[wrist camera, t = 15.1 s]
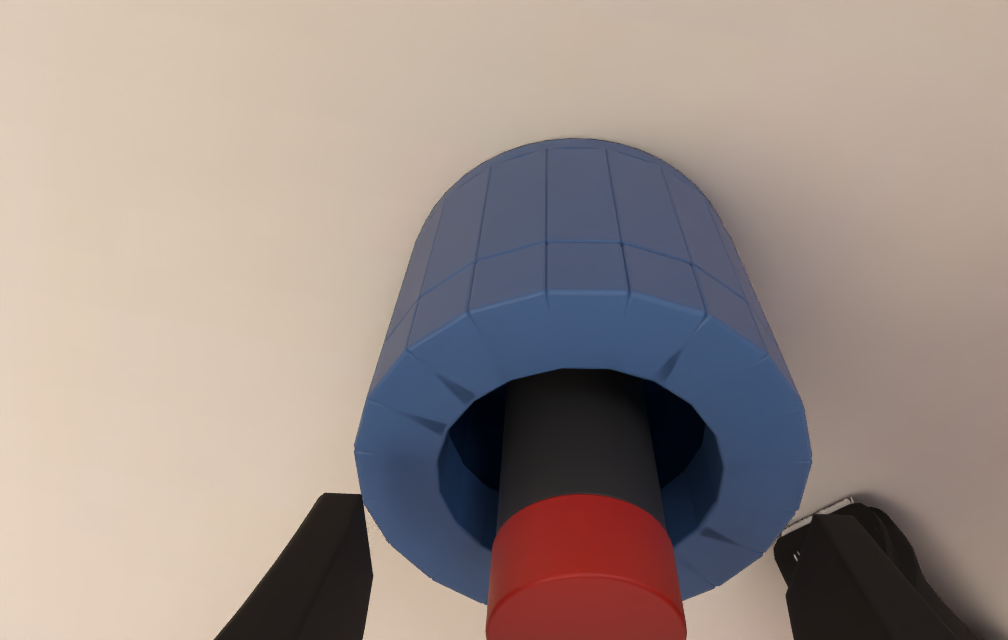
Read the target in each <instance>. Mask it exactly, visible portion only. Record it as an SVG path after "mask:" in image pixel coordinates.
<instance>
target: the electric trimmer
mask: <svg viewBox="0 0 1008 640" xmlns="http://www.w3.org/2000/svg"><path fill="white" fill-rule="evenodd" d="M841 501H842V500H841ZM851 501H852V503H851V502H850V501H849V500H848V499H847V498H846V500H845V499H844V502H843V501H842V503H841V502H840V501H839V504H840V505H839V504H838V503H837V505H836V504H835V507H834V506H833V505H832V506H833V508H832V507H831V506H830V508H828V509H827V508H826V507H825V508H826V511H825V510H824V509H823V511H824V512H823V511H822V510H821V512H820V511H819V514H834V515H853V516H854V517H855V518H856V520H857V521H858V522H859V523H860V524H861V525H862V527H863V528H864V529H865V530H866V531H867V532H868V534H869V535H870V536H871V537H872V538H873V540H874V541H875V542H876V543H877V545H878V546H879V547H880V548H881V549H882V551H883V552H884V553H885V554H886V555H887V557H888V558H889V559H890V560H891V561H892V563H893V564H894V565H895V566H896V567H897V569H898V570H899V571H900V572H901V573H902V575H903V576H904V577H905V578H906V579H907V580H908V582H909V583H910V584H911V585H912V586H913V588H914V589H915V590H916V591H917V592H918V593H919V595H920V596H921V597H922V598H923V599H924V600H925V602H926V603H927V604H928V605H929V606H930V607H931V609H932V610H933V611H934V612H935V613H936V614H937V615H938V616H939V618H940V619H941V620H942V621H943V622H944V623H945V624H946V625H947V627H948V628H949V629H950V630H951V631H952V632H953V633H954V634H955V636H956V637H957V638H958V639H959V640H977V639H976V637H975V636H974V635H973V634H972V633H971V632H970V631H969V630H968V629H967V628H966V627H965V625H964V624H963V623H962V622H961V621H960V620H959V619H958V618H957V617H956V616H955V615H954V614H953V612H952V611H951V610H950V609H949V608H948V607H947V606H946V605H945V604H944V602H943V601H942V600H941V599H940V597H939V596H938V595H937V594H936V593H935V591H934V590H933V589H932V588H931V586H930V585H929V584H928V583H927V581H926V580H925V578H924V576H923V574H922V572H921V569H920V566H919V564H918V561H917V558H916V556H915V553H914V550H913V548H912V546H911V544H910V543H909V541H908V540H907V538H906V537H905V535H904V534H903V533H902V532H901V531H900V529H899V528H898V527H897V526H896V525H895V523H894V522H893V521H892V520H891V519H890V518H889V516H888V515H887V514H886V513H884V512H883V511H882V510H880V509H878V508H874V507H867V506H865V505H863V504H862V503H854V501H853V499H852V497H851ZM816 514H818V513H817V512H816ZM805 518H806V517H805ZM803 520H804V522H803V521H802V520H801V522H802V523H801V522H800V521H799V523H798V522H797V524H796V523H795V526H794V525H793V527H792V526H791V525H790V527H791V528H790V527H789V526H788V528H787V527H786V530H785V529H784V531H783V530H782V537H781V538H779V539H778V540H777V542H776V544H775V547H774V556H775V561H776V563H777V565H778V567H779V569H780V571H781V573H782V576H783V578H784V580H785V582H786V584H787V586H788V587H789V584H790V581H791V578H792V575H793V572H794V569H795V566H796V563H797V560H798V558H799V555H800V552H801V549H802V546H803V543H804V540H805V537H806V534H807V531H808V528H809V525H810V522H811V520H812V516H810V518H809V517H808V519H807V518H806V520H805V519H804V518H803Z"/></svg>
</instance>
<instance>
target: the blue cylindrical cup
mask: <svg viewBox="0 0 1008 640" xmlns="http://www.w3.org/2000/svg"><path fill="white" fill-rule="evenodd" d="M561 368H563V369H611V370H615V371H618V372H622V373H625V374H629V375H633V376H636V377H640V378H642V384H643V390H644V396H645V402H646V408H647V414H648V420H649V426H650V432H651V438H652V444H653V450H654V456H655V462H656V468H657V474H658V480H659V486H660V492H661V498H662V504H663V510H664V516H665V522H666V528H667V534H668V536H669V537H670V539H671V543H672V546H673V551H674V557H675V563H676V568H677V574H678V580H679V586H680V592H681V598H682V601H683V600H686V599H688V598H691V597H694V596H696V595H699V594H701V593H704V592H707V591H709V590H712V589H714V588H715V586H720V585H722V584H723V583H725V582H726V581H727V580H729V579H730V578H732V577H733V576H735V575H736V574H737V573H739V572H740V571H742V570H743V569H745V568H746V567H747V566H749V565H750V564H752V563H753V562H755V561H756V560H757V559H759V558H760V557H762V555H763V553H764V552H766V551H767V550H768V548H769V547H770V546H771V545H772V543H773V542H774V541H775V539H776V538H777V537H778V536H779V534H780V533H781V532H782V530H783V529H784V528H785V526H786V525H787V524H788V523H789V521H790V520H791V519H792V517H793V516H794V515H795V512H796V511H797V510H798V509H799V506H800V503H801V499H802V496H803V492H804V489H805V485H806V482H807V478H808V475H809V471H810V468H811V464H812V459H811V458H812V451H811V445H810V439H809V433H808V427H807V421H806V415H805V409H804V406H803V403H802V400H801V398H800V395H799V393H798V391H797V389H796V386H795V384H794V382H793V379H792V377H791V375H790V372H789V370H788V368H787V366H786V363H785V361H784V359H783V356H782V354H781V352H780V350H779V347H778V345H777V343H776V340H775V338H774V336H773V333H772V331H771V329H770V327H769V324H768V322H767V320H766V317H765V315H764V313H763V311H762V308H761V306H760V304H759V301H758V299H757V297H756V294H755V292H754V290H753V288H752V285H751V283H750V281H749V278H748V276H747V274H746V271H745V269H744V267H743V265H742V262H741V260H740V258H739V255H738V253H737V251H736V248H735V246H734V244H733V242H732V239H731V237H730V236H729V234H728V233H727V231H726V230H725V228H724V226H723V224H722V222H721V219H720V217H719V216H718V214H717V213H716V211H715V209H714V208H713V206H712V205H711V203H710V201H709V200H708V199H707V198H706V197H705V196H704V194H703V193H702V192H701V191H700V190H699V189H698V188H697V186H696V185H695V184H693V183H692V182H691V181H690V180H689V179H688V178H686V177H685V176H684V175H683V174H682V173H681V172H679V171H678V170H676V169H675V168H673V167H672V166H670V165H668V164H667V163H665V162H664V161H662V160H661V159H658V158H656V157H654V156H652V155H650V154H647V153H645V152H643V151H641V150H638V149H635V148H631V147H628V146H625V145H622V144H618V143H613V142H607V141H601V140H595V139H559V140H548V141H543V142H538V143H533V144H529V145H524V146H521V147H518V148H516V149H513V150H510V151H507V152H504V153H502V154H500V155H498V156H496V157H494V158H492V159H490V160H488V161H486V162H484V163H482V164H480V165H479V166H477V167H476V168H475V169H473V170H472V171H470V172H469V173H467V174H466V175H464V176H463V177H462V178H461V179H460V180H459V181H458V182H456V183H455V184H454V185H453V186H452V187H451V188H450V189H449V190H448V191H447V192H446V193H445V194H444V195H443V197H442V198H441V199H440V200H439V201H438V203H437V204H436V205H435V206H434V208H433V210H432V211H431V213H430V214H429V216H428V218H427V219H426V221H425V223H424V225H423V227H422V229H421V232H420V234H419V235H418V238H417V240H416V242H415V245H414V248H413V252H412V255H411V258H410V261H409V264H408V268H407V271H406V274H405V277H404V280H403V283H402V287H401V290H400V293H399V296H398V299H397V303H396V306H395V309H394V312H393V315H392V318H391V322H390V325H389V328H388V331H387V334H386V338H385V341H384V344H383V348H382V350H381V354H380V357H379V360H378V363H377V366H376V370H375V373H374V376H373V379H372V382H371V385H370V389H369V392H368V395H367V398H366V402H365V406H364V409H363V413H362V417H361V421H360V424H359V428H358V432H357V436H356V440H355V443H354V447H355V450H354V455H355V460H356V466H357V472H358V478H359V484H360V489H361V494H362V498H363V503H364V505H365V506H366V508H367V510H368V511H369V513H370V514H371V516H372V518H373V519H374V521H375V522H376V524H377V526H378V527H379V529H380V530H381V532H382V534H383V535H384V537H385V538H386V540H387V542H388V543H389V544H391V546H392V547H393V548H395V549H396V550H397V551H398V552H399V553H401V554H402V555H403V556H404V557H405V558H407V559H408V560H409V561H410V562H411V563H412V564H414V565H415V566H416V567H417V568H418V569H420V570H421V571H422V572H423V573H424V574H426V575H427V576H428V577H429V578H432V580H433V581H435V582H437V583H440V584H442V585H444V586H446V587H448V588H450V589H452V590H454V591H456V592H459V593H461V594H463V595H465V596H467V597H469V598H471V599H473V600H475V601H477V602H480V603H484V604H485V605H488V593H489V580H490V567H491V554H492V546H493V543H494V539H495V537H496V528H497V515H498V501H499V487H500V474H501V460H502V446H503V433H504V419H505V405H506V392H507V382H509V381H511V380H515V379H519V378H524V377H528V376H532V375H536V374H540V373H544V372H548V371H553V370H557V369H561Z"/></svg>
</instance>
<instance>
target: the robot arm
mask: <svg viewBox="0 0 1008 640" xmlns="http://www.w3.org/2000/svg"><path fill="white" fill-rule="evenodd" d="M372 580H373V571H372V564H371V557H370V550H369V542H368V535H367V528H366V520H365V513H364V506H363V499H362V494H341V493H324V494H323V495H321V496H320V497H319V498H318V499H317V501H316V503H315V504H314V506H313V507H312V509H311V510H310V512H309V514H308V515H307V517H306V518H305V520H304V521H303V523H302V524H301V526H300V527H299V529H298V530H297V532H296V533H295V534H294V536H293V537H292V539H291V540H290V542H289V543H288V545H287V546H286V547H285V549H284V550H283V552H282V553H281V554H280V556H279V557H278V559H277V560H276V561H275V563H274V564H273V565H272V567H271V568H270V569H269V571H268V572H267V573H266V575H265V576H264V577H263V579H262V580H261V581H260V583H259V584H258V585H257V587H256V588H255V589H254V591H253V592H252V593H251V594H250V596H249V597H248V598H247V600H246V601H245V602H244V604H243V605H242V606H241V607H240V609H239V610H238V611H237V612H236V614H235V615H234V616H233V617H232V619H231V620H230V621H229V622H228V623H227V624H226V626H225V627H224V628H223V629H222V630H221V632H220V633H219V634H218V635H217V636H216V638H215V639H214V640H362V639H363V634H364V628H365V623H366V617H367V611H368V605H369V599H370V593H371V587H372ZM786 601H787V606H788V611H789V617H790V622H791V628H792V633H793V637H794V640H959V639H958V638H957V637H956V636H955V634H954V633H953V632H952V631H951V630H950V629H949V628H948V627H947V625H946V624H945V623H944V622H943V621H942V620H941V619H940V618H939V616H938V615H937V614H936V613H935V612H934V611H933V610H932V609H931V607H930V606H929V605H928V604H927V603H926V602H925V600H924V599H923V598H922V597H921V596H920V595H919V593H918V592H917V591H916V590H915V589H914V588H913V586H912V585H911V584H910V583H909V582H908V580H907V579H906V578H905V577H904V576H903V575H902V573H901V572H900V571H899V570H898V569H897V567H896V566H895V565H894V564H893V563H892V561H891V560H890V559H889V558H888V557H887V555H886V554H885V553H884V552H883V551H882V549H881V548H880V547H879V546H878V545H877V543H876V542H875V541H874V540H873V538H872V537H871V536H870V535H869V534H868V532H867V531H866V530H865V529H864V528H863V527H862V525H861V524H860V523H859V522H858V521H857V520H856V518H855V517H854V516H853V515H834V514H813V517H812V520H811V522H810V525H809V528H808V531H807V534H806V537H805V540H804V543H803V546H802V549H801V552H800V555H799V558H798V560H797V563H796V566H795V569H794V572H793V575H792V578H791V581H790V584H789V587H788V590H787V593H786Z"/></svg>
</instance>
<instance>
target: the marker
mask: <svg viewBox="0 0 1008 640" xmlns="http://www.w3.org/2000/svg"><path fill="white" fill-rule="evenodd" d="M686 636H687V629H686V621H685V615H684V609H683V603H682V598H681V592H680V586H679V580H678V574H677V568H676V563H675V557H674V551H673V546H672V543H671V539H670V537H669V536H668V534H667V528H666V522H665V516H664V510H663V504H662V498H661V492H660V486H659V480H658V474H657V468H656V462H655V456H654V450H653V444H652V438H651V432H650V426H649V420H648V414H647V408H646V402H645V396H644V390H643V384H642V378H640V377H636V376H633V375H629V374H625V373H622V372H618V371H615V370H611V369H563V368H561V369H557V370H553V371H548V372H544V373H540V374H536V375H532V376H528V377H524V378H519V379H515V380H511V381H509V382H507V392H506V405H505V419H504V433H503V446H502V460H501V474H500V487H499V501H498V515H497V528H496V537H495V539H494V543H493V546H492V554H491V567H490V580H489V593H488V606H487V619H486V639H487V640H686Z"/></svg>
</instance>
